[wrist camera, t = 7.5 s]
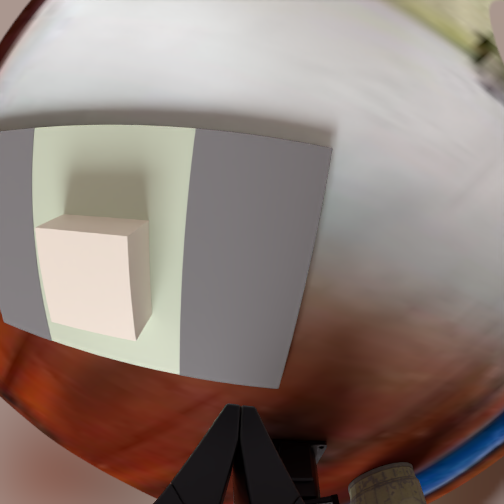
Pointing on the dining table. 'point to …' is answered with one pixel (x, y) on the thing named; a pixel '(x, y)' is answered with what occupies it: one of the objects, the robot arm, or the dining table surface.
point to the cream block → (96, 273)
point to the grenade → (387, 486)
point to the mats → (203, 250)
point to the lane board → (122, 206)
